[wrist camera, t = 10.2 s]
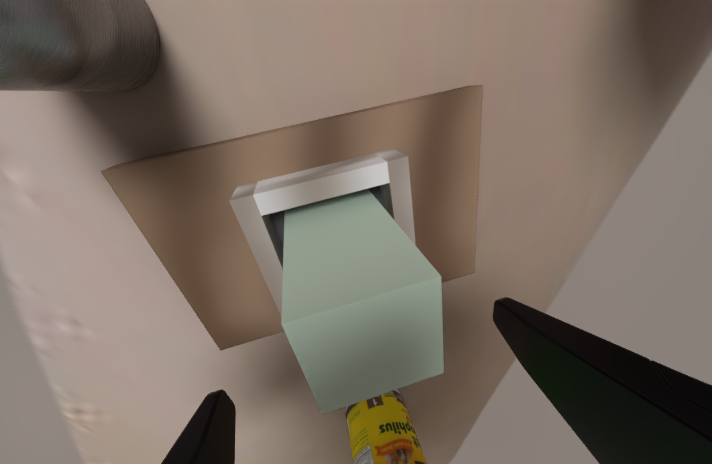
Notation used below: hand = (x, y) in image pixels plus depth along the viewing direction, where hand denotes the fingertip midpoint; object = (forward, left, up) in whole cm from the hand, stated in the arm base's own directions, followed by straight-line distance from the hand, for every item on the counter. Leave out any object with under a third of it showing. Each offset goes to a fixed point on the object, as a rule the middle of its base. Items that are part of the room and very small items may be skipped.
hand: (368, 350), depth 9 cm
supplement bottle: (+15, +12, -9) cm, 21 cm away
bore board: (0, 0, -9) cm, 9 cm away
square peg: (0, 0, -8) cm, 8 cm away
